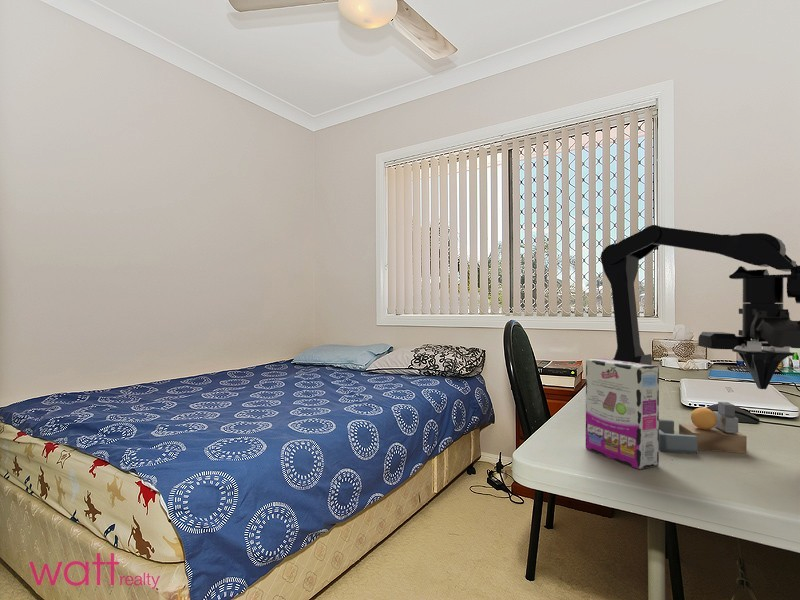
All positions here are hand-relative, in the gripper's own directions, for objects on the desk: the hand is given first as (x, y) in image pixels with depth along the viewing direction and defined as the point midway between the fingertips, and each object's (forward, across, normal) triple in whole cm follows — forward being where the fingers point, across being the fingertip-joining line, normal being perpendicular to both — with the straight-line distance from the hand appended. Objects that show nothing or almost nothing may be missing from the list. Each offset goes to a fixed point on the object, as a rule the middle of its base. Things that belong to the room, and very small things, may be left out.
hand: (762, 388), depth 79 cm
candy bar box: (+11, -26, -10) cm, 30 cm away
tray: (+11, -16, 0) cm, 19 cm away
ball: (+6, -10, 0) cm, 11 cm away
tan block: (+11, -8, 0) cm, 14 cm away
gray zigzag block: (+8, -6, 0) cm, 10 cm away
